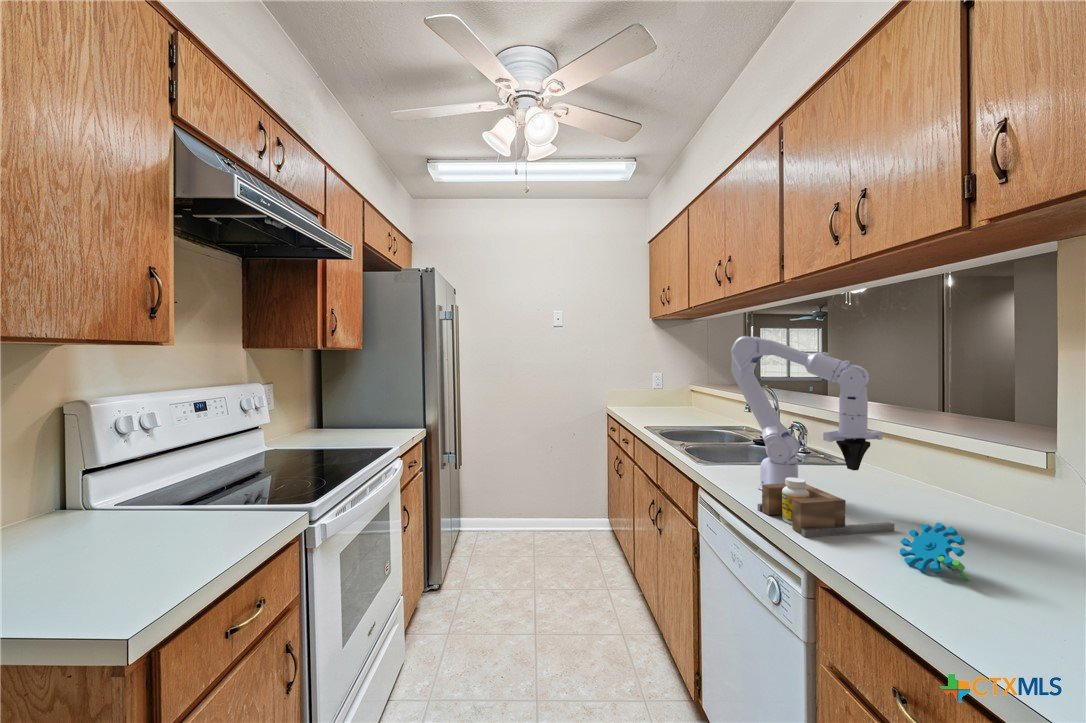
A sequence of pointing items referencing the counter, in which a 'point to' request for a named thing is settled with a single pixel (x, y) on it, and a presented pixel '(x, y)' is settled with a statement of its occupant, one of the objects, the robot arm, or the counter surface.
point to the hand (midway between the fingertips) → (852, 469)
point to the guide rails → (844, 528)
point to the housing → (805, 507)
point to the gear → (934, 549)
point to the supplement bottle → (792, 496)
